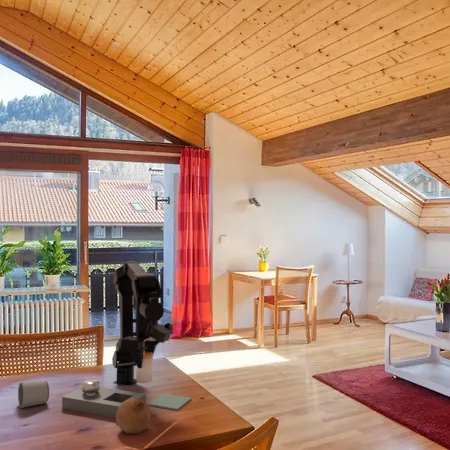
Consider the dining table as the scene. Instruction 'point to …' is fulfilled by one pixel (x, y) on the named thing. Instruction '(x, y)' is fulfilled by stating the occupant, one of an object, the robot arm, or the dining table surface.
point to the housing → (99, 401)
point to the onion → (133, 416)
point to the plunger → (90, 387)
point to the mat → (170, 402)
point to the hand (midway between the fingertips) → (144, 365)
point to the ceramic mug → (33, 393)
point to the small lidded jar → (145, 368)
